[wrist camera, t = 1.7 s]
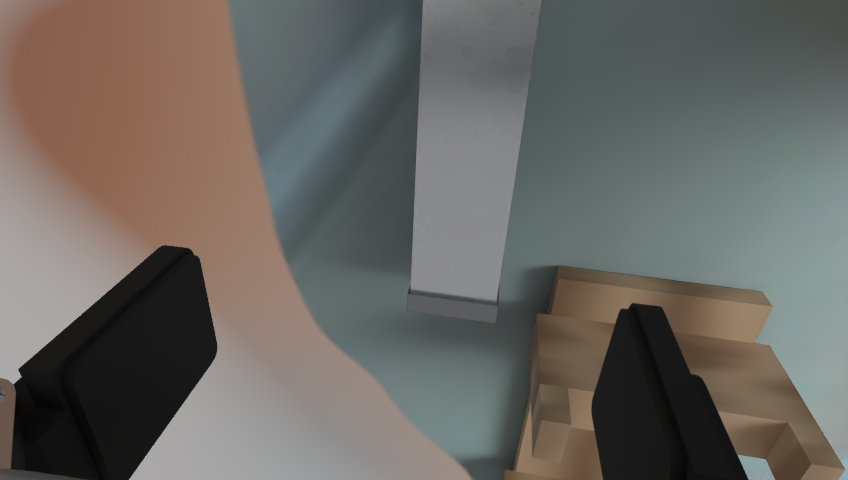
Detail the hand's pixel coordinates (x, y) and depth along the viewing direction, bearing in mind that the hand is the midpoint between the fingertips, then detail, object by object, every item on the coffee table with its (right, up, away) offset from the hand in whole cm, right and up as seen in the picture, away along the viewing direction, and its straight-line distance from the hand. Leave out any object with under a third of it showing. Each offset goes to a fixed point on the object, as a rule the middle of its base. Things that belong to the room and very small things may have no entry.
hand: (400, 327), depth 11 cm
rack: (+12, -9, +20) cm, 24 cm away
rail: (+3, +7, +12) cm, 14 cm away
